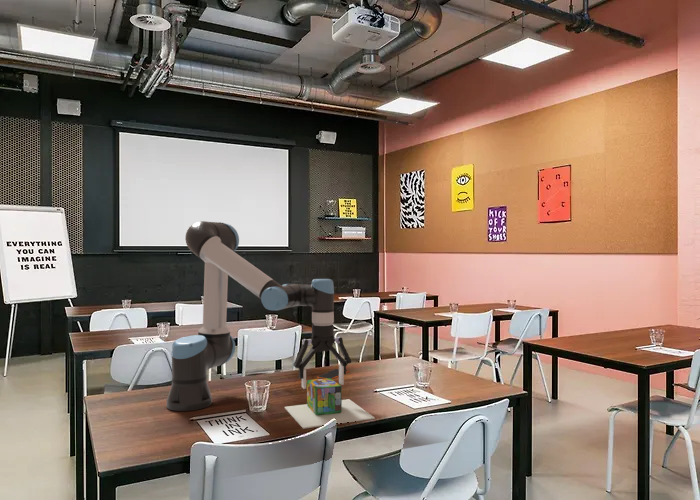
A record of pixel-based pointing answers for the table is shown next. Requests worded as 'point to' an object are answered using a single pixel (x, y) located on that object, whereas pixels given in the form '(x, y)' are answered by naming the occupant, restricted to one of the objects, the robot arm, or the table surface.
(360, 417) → the mat
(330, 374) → the smartphone
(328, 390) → the chalk box
